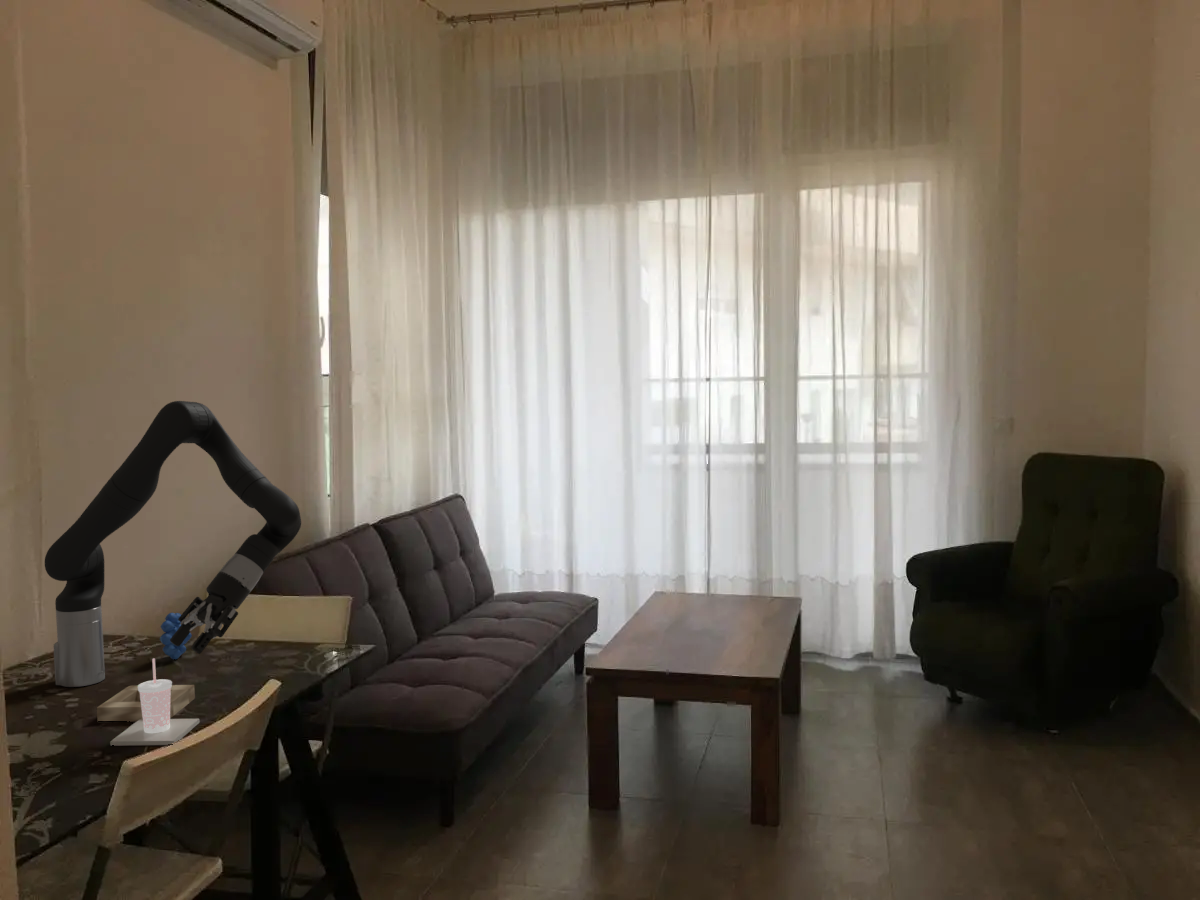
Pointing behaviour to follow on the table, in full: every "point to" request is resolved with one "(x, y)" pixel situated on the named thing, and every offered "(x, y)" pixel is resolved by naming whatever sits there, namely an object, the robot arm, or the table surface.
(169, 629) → the grapes
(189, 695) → the cup holder
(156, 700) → the beverage cup
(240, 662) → the table surface
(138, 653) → the table surface
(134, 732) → the coaster
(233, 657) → the table surface
